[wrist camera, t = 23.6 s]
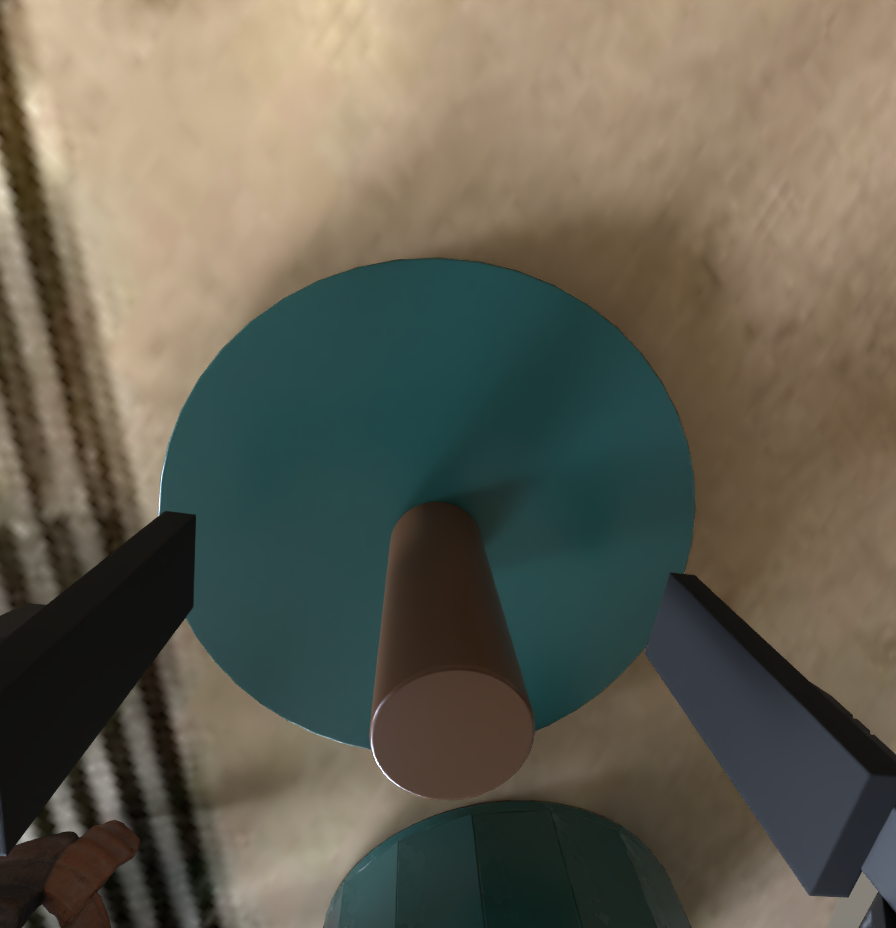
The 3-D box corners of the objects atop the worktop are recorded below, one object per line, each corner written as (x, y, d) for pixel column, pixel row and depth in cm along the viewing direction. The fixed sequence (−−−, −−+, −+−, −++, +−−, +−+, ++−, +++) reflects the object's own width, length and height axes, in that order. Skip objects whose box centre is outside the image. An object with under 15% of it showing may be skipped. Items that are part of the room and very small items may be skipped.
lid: (774, 396, 17) (1146, 481, 8) (545, 779, 21) (635, 1101, 13) (268, 154, 14) (34, -101, 5) (117, 653, 18) (-152, 961, 10)
